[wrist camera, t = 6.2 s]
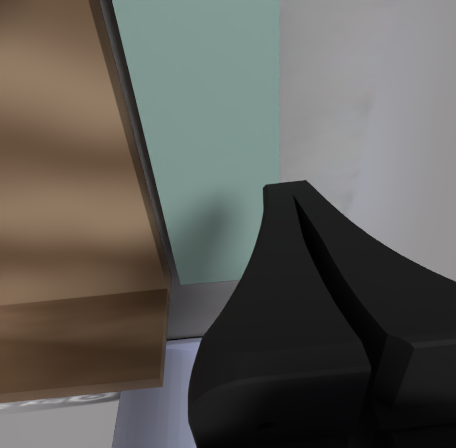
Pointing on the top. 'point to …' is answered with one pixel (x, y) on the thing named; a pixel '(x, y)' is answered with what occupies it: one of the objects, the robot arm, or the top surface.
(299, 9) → the top surface
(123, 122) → the wooden drawer
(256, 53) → the green flat rectangular panel
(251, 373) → the robot arm
